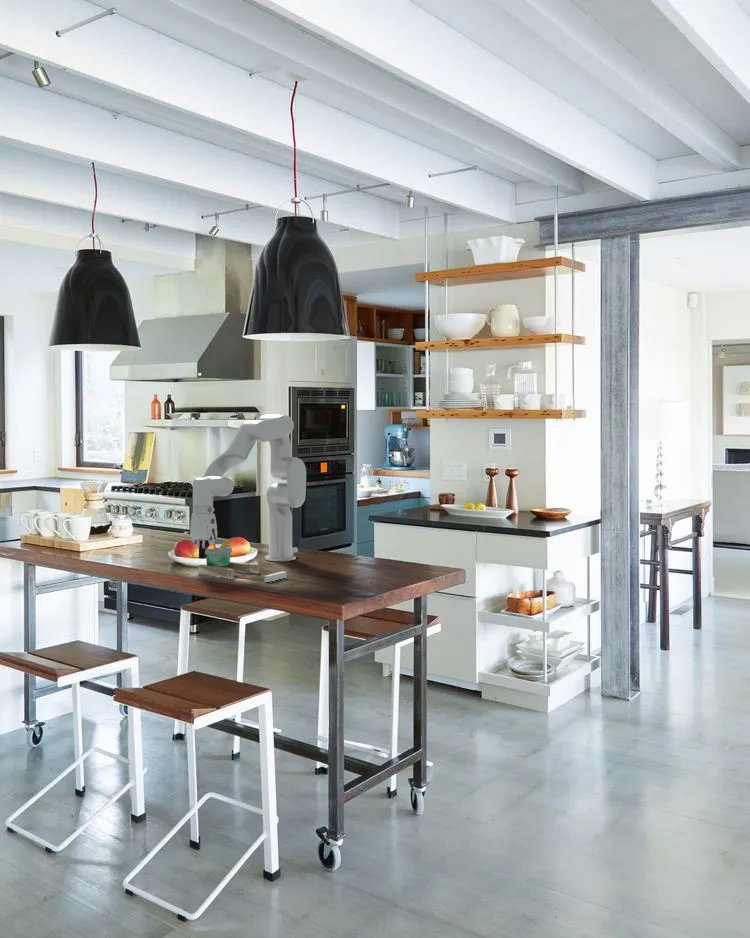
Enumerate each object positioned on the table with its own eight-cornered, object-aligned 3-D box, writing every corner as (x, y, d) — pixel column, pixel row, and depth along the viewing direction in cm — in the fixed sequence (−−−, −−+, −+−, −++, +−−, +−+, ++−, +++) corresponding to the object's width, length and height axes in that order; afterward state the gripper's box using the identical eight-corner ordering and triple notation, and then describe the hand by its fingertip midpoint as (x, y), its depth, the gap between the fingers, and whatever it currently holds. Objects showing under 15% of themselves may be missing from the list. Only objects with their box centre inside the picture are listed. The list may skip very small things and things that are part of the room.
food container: (217, 577, 335) (217, 550, 334) (204, 575, 338) (204, 548, 337) (239, 572, 345) (239, 545, 344) (226, 570, 348) (226, 544, 348)
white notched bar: (282, 577, 334) (282, 571, 334) (286, 578, 333) (286, 571, 333) (264, 582, 324) (264, 575, 324) (268, 583, 324) (268, 576, 324)
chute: (224, 568, 352) (224, 559, 351) (260, 573, 343) (260, 564, 343) (194, 575, 337) (194, 566, 337) (231, 580, 328) (231, 570, 328)
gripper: (224, 510, 344) (224, 558, 345) (194, 508, 352) (195, 555, 353) (211, 512, 338) (211, 561, 339) (181, 509, 345) (181, 557, 347)
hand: (203, 558), depth 346 cm, fingers closed
